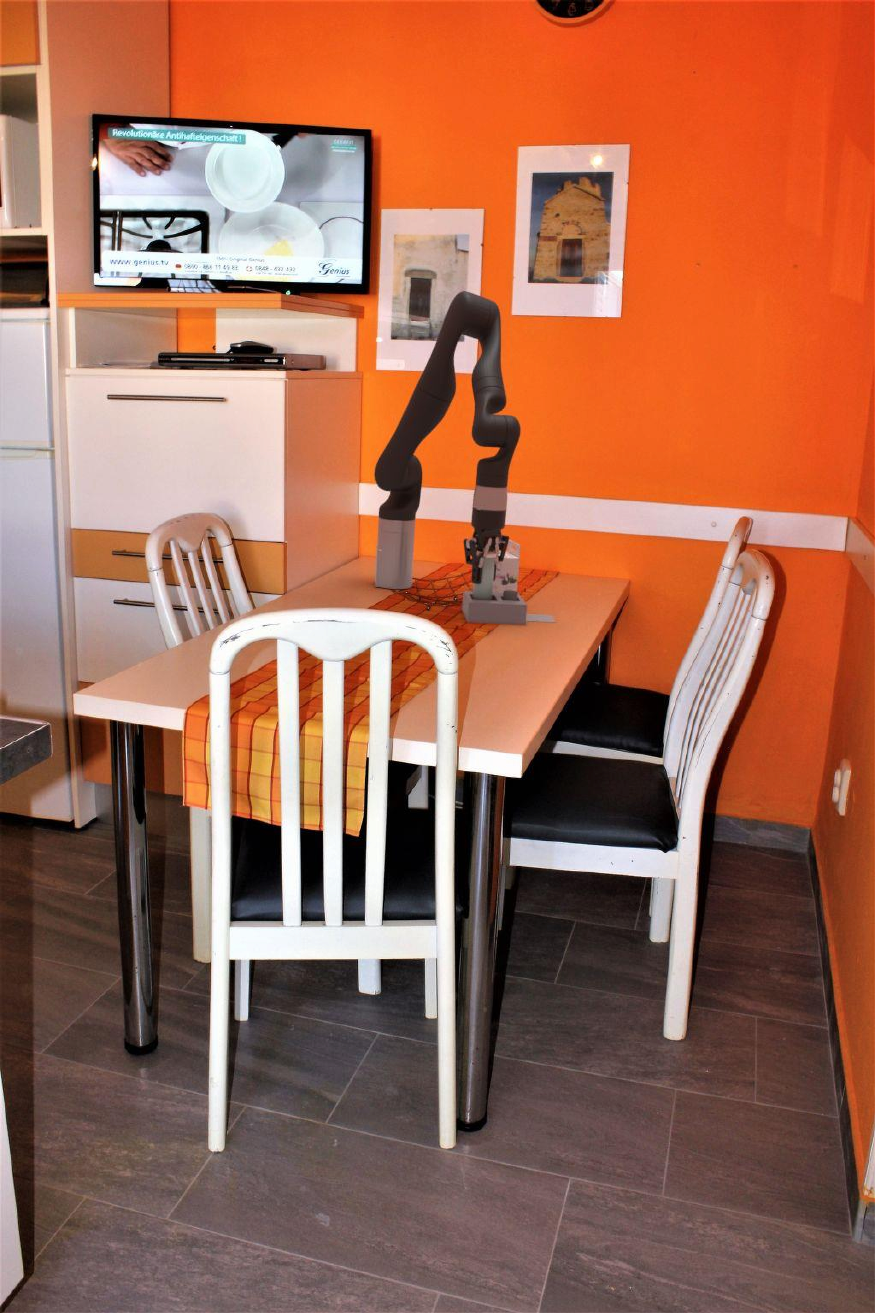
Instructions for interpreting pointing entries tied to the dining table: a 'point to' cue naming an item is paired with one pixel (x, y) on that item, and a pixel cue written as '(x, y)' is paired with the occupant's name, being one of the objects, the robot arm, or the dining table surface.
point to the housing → (494, 609)
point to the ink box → (507, 570)
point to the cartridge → (485, 579)
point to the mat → (539, 618)
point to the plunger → (510, 595)
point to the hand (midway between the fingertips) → (483, 581)
